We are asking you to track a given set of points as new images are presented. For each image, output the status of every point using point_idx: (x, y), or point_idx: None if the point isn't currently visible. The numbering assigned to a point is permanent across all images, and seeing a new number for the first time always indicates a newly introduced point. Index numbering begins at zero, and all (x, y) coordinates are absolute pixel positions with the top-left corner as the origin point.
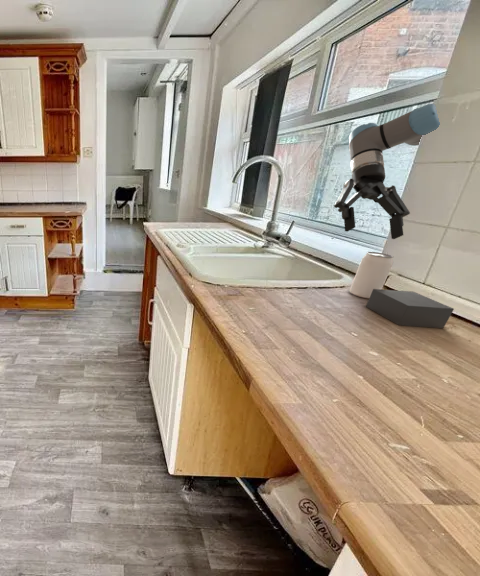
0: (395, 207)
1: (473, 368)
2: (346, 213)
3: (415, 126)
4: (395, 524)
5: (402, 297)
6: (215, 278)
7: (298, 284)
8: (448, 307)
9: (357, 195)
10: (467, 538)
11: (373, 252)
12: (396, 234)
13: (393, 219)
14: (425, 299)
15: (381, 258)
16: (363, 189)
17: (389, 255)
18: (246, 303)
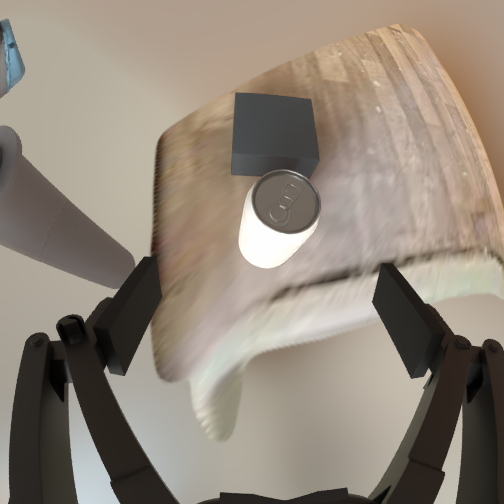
0: (94, 375)
1: (295, 58)
2: (437, 315)
3: None
4: (414, 33)
5: (291, 124)
6: (493, 286)
7: None
8: (241, 94)
9: (442, 429)
10: (396, 25)
11: (282, 232)
12: (155, 280)
13: (123, 345)
14: (249, 119)
15: (299, 177)
16: (430, 488)
17: (253, 199)
18: (468, 187)
